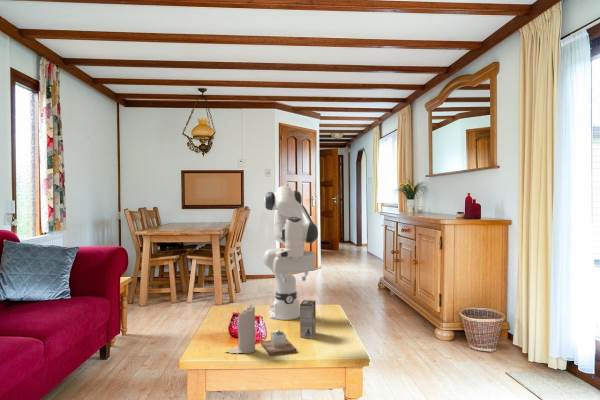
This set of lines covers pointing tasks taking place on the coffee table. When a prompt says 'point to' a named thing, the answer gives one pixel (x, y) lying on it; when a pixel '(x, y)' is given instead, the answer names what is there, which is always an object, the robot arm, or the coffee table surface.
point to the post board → (278, 348)
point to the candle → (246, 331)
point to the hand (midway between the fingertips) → (294, 281)
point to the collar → (278, 340)
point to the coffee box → (307, 319)
